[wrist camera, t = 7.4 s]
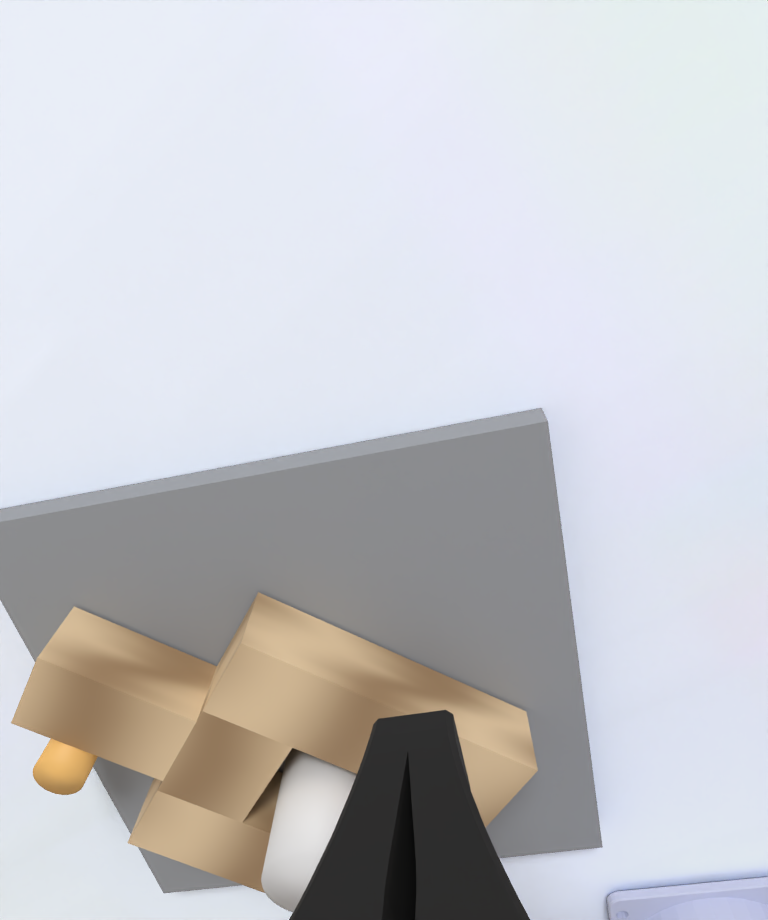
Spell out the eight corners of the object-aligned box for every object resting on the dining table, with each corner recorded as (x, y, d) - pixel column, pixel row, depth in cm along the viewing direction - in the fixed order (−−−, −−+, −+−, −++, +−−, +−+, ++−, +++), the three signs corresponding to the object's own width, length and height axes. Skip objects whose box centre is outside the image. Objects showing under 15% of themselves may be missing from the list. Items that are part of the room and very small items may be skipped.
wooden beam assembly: (526, 711, 23) (537, 770, 21) (387, 872, 27) (385, 936, 25) (107, 524, 21) (72, 570, 19) (21, 733, 25) (-17, 790, 23)
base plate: (596, 823, 27) (641, 994, 22) (171, 870, 30) (117, 1035, 24) (541, 408, 20) (589, 511, 14) (-21, 513, 22) (-161, 636, 17)
